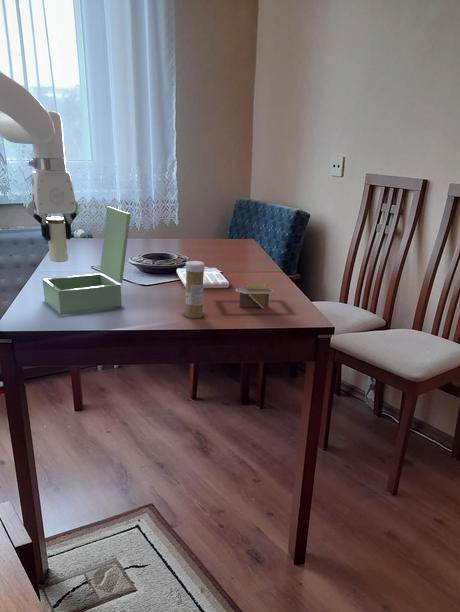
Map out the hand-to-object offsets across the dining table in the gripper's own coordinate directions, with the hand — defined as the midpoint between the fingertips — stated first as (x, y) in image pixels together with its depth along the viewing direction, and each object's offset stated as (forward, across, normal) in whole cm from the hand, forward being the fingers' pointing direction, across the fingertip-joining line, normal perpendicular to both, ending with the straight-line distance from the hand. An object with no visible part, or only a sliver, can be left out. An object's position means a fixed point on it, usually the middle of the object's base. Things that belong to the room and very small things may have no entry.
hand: (57, 238), depth 149 cm
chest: (+14, 0, -17) cm, 22 cm away
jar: (+6, 0, 0) cm, 6 cm away
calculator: (+14, +42, -6) cm, 45 cm away
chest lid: (-1, +9, -17) cm, 19 cm away
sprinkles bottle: (+14, +22, -36) cm, 44 cm away
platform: (+14, +40, -37) cm, 56 cm away
